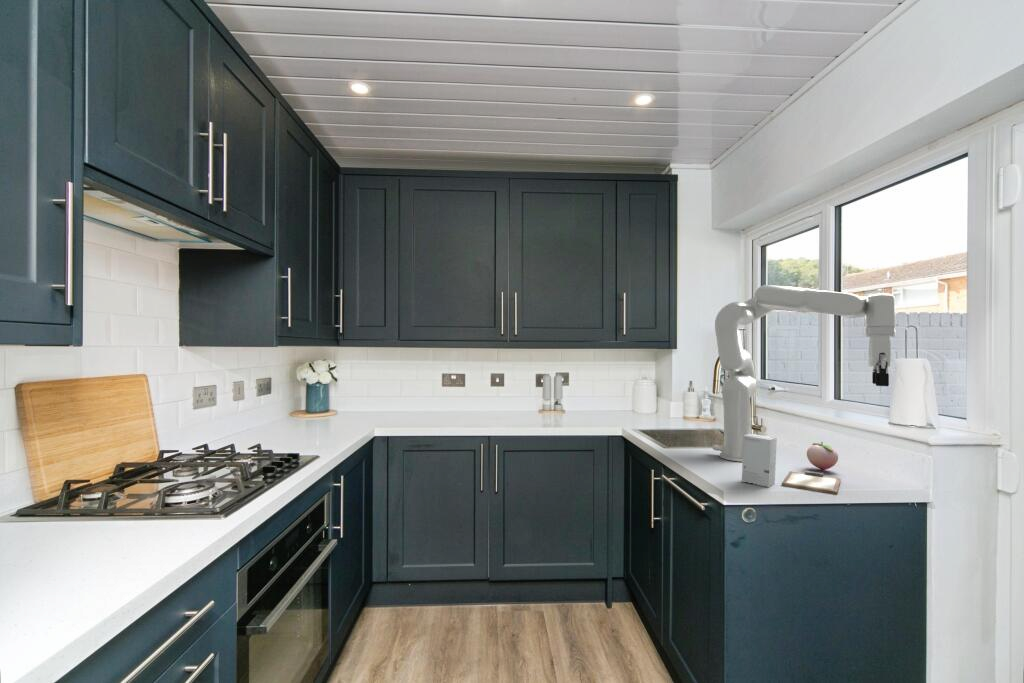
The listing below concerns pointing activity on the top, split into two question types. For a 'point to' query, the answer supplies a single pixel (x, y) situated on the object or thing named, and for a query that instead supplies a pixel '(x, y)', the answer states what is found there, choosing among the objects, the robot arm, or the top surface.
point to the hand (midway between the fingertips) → (880, 384)
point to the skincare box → (759, 459)
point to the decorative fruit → (822, 456)
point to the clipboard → (812, 482)
